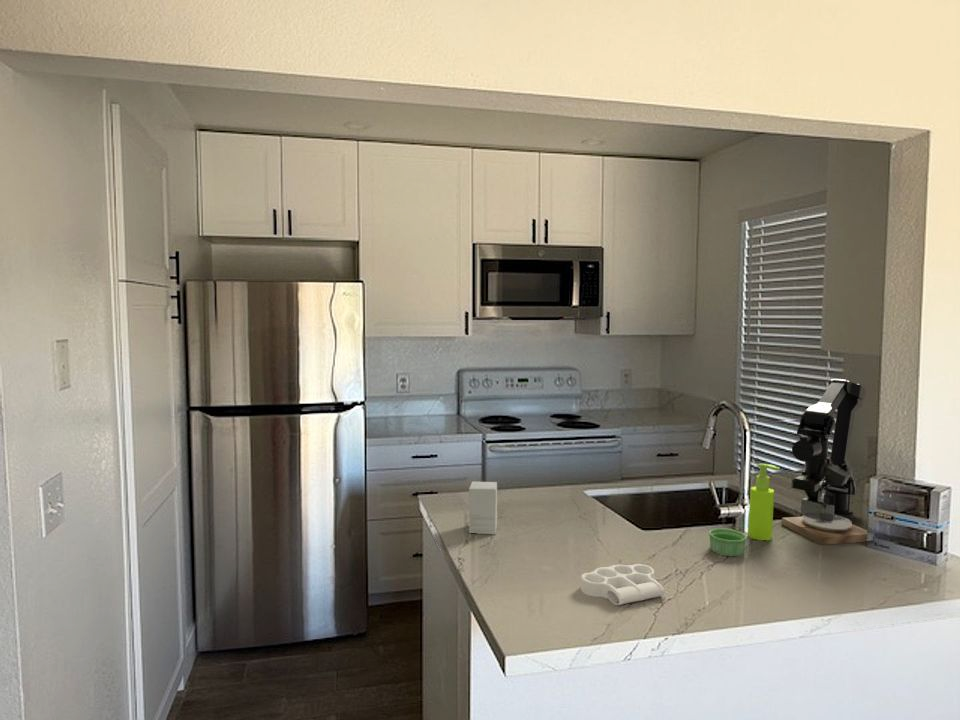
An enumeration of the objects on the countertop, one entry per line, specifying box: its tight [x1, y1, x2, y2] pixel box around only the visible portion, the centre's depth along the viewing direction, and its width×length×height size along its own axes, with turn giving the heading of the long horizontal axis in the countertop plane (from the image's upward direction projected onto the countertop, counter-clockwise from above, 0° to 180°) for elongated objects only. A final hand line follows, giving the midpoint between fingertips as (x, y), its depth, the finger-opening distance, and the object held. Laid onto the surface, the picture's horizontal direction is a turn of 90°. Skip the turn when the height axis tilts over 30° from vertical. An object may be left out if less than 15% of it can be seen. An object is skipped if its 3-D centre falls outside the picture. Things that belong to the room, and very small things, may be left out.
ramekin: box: [708, 527, 748, 557], centre depth 168 cm, size 9×9×4 cm
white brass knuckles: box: [580, 563, 666, 606], centre depth 145 cm, size 3×18×15 cm
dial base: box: [781, 515, 868, 546], centre depth 182 cm, size 16×16×2 cm
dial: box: [800, 497, 853, 532], centre depth 182 cm, size 13×12×6 cm
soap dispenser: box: [747, 462, 781, 541], centre depth 177 cm, size 6×7×20 cm
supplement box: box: [468, 480, 498, 535], centre depth 181 cm, size 7×7×13 cm
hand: (814, 507), depth 188 cm, fingers closed
